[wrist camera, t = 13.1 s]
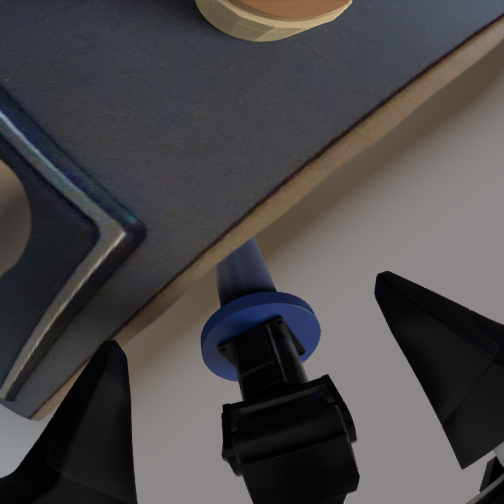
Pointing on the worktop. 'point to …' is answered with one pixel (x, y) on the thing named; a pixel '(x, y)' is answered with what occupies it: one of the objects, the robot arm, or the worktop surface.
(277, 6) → the stopper
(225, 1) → the jar
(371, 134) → the worktop surface
